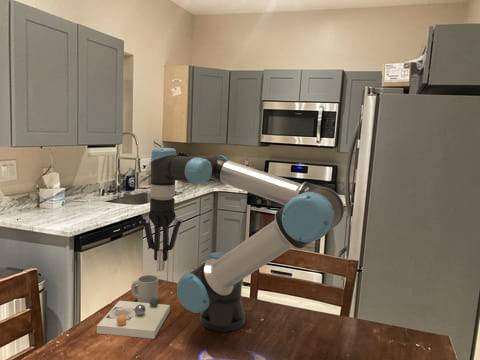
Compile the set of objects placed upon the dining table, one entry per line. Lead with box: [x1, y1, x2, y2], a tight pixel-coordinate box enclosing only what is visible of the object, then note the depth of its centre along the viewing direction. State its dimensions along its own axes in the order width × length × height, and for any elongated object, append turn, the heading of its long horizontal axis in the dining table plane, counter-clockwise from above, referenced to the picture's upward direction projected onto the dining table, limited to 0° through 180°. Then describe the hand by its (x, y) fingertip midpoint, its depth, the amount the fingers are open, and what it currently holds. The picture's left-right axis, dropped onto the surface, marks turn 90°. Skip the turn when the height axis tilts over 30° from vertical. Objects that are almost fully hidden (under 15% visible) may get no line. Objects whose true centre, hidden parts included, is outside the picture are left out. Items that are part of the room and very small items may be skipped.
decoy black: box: [149, 298, 159, 307], centre depth 138 cm, size 3×3×3 cm
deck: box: [96, 300, 171, 340], centre depth 132 cm, size 18×18×2 cm
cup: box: [130, 274, 159, 303], centre depth 147 cm, size 7×10×9 cm
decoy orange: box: [117, 315, 127, 325], centre depth 125 cm, size 3×3×3 cm
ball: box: [135, 304, 146, 316], centre depth 132 cm, size 4×4×4 cm
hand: (160, 269), depth 129 cm, fingers closed
